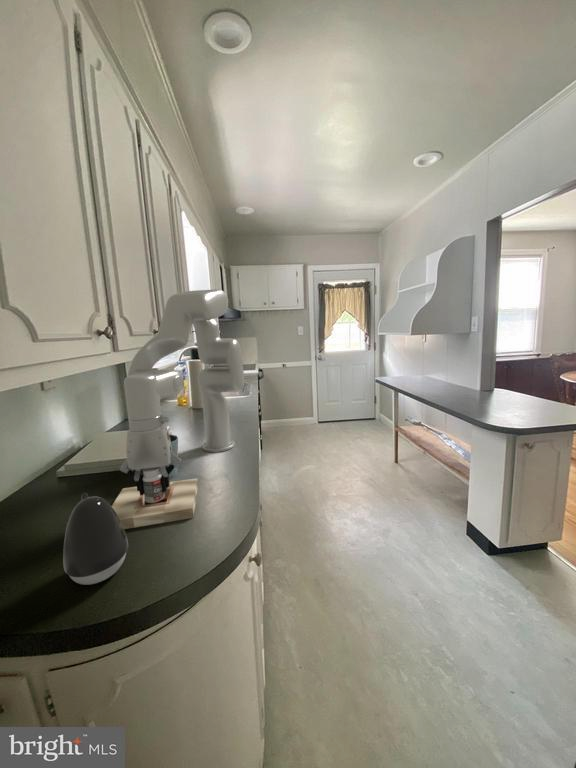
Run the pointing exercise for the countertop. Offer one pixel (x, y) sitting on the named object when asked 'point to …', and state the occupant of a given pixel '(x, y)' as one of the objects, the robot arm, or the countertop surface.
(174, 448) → the blue green cup
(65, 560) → the dark rounded oval
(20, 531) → the countertop surface
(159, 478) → the pill bottle
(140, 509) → the socket plate
